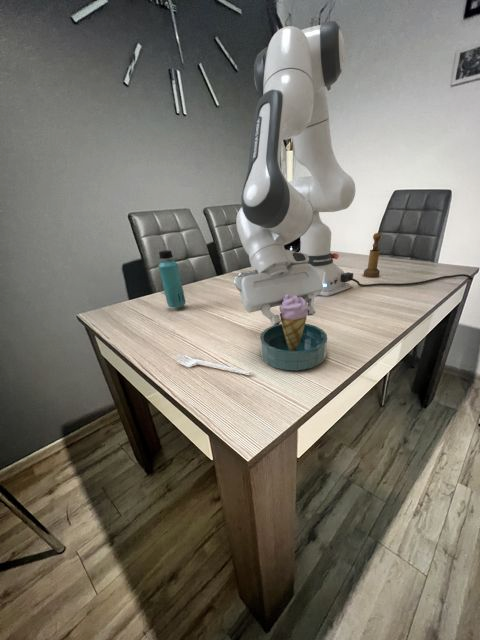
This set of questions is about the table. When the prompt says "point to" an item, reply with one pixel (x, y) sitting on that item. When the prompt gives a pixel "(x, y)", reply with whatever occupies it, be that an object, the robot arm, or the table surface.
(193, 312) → the table surface
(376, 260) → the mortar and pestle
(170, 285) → the beverage bottle
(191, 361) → the fork
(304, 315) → the ice cream cone
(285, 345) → the bowl
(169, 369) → the table surface
